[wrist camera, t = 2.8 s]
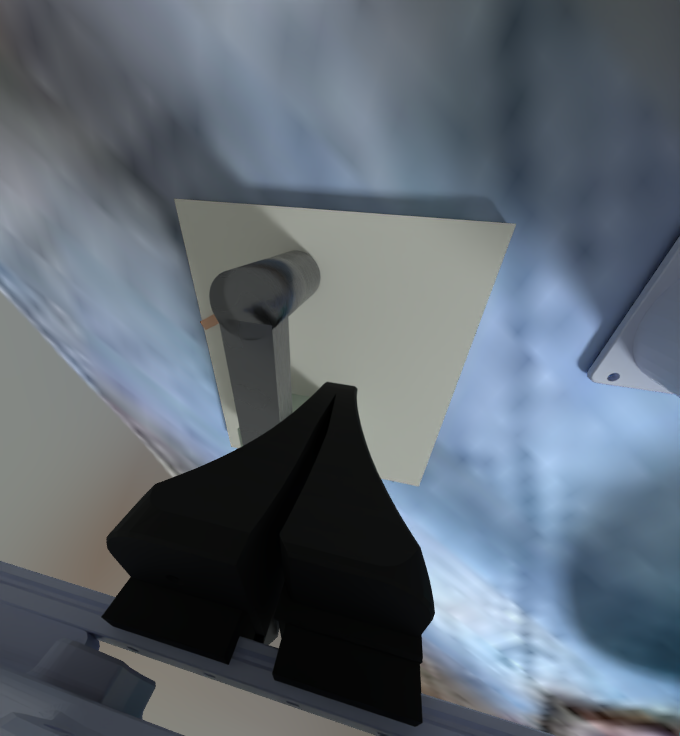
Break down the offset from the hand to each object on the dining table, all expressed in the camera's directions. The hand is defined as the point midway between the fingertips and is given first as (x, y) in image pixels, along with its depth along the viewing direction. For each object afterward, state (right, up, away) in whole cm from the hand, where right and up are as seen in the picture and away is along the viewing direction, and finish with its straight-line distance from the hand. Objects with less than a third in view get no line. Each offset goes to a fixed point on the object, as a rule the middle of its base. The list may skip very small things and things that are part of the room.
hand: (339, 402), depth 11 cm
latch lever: (-2, +2, +5) cm, 6 cm away
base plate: (-1, +2, +6) cm, 7 cm away
